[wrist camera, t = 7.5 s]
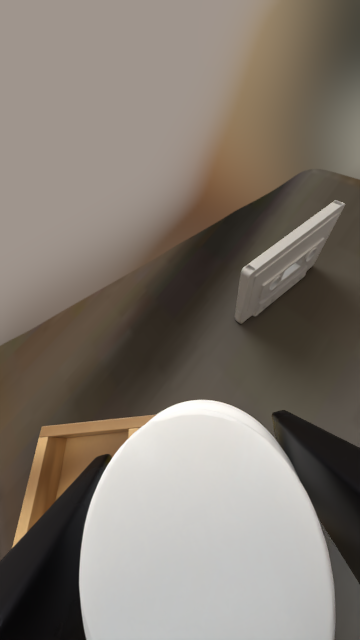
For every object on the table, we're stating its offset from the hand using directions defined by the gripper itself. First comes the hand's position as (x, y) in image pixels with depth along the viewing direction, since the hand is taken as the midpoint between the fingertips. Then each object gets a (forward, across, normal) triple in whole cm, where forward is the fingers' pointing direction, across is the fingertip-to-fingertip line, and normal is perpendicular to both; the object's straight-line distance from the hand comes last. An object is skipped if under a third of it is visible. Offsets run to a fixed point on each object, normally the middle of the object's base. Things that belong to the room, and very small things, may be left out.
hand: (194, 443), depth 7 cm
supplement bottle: (+4, 0, +6) cm, 7 cm away
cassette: (+18, -12, 0) cm, 21 cm away
